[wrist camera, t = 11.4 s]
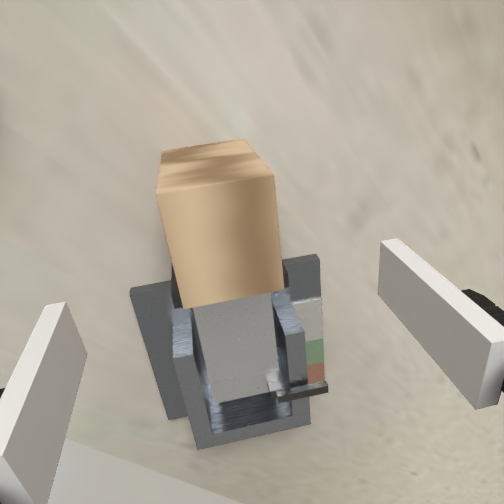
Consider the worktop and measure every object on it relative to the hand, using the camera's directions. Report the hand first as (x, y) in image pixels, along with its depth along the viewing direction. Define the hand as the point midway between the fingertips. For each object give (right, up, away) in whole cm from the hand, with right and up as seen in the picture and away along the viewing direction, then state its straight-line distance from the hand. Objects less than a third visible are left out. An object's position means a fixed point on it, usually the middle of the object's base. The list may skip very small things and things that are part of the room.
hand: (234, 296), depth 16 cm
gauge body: (-1, -6, +20) cm, 21 cm away
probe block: (-2, +7, +14) cm, 15 cm away
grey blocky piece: (+1, -3, +18) cm, 18 cm away
